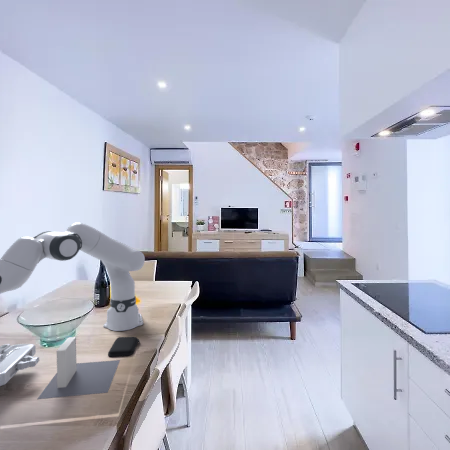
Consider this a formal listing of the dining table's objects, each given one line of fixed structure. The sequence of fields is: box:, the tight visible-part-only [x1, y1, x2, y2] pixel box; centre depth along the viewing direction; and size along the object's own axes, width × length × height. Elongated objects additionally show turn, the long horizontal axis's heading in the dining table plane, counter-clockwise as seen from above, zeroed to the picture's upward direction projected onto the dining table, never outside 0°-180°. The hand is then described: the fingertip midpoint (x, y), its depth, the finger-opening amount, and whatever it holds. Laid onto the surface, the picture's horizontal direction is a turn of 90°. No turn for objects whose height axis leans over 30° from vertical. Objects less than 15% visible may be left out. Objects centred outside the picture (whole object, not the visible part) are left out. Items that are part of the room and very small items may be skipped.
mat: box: [37, 359, 121, 400], centre depth 98 cm, size 20×20×1 cm
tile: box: [56, 336, 77, 388], centre depth 97 cm, size 10×3×12 cm, turn 9°
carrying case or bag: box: [107, 336, 141, 358], centre depth 119 cm, size 11×3×15 cm
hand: (37, 361), depth 96 cm, fingers closed
